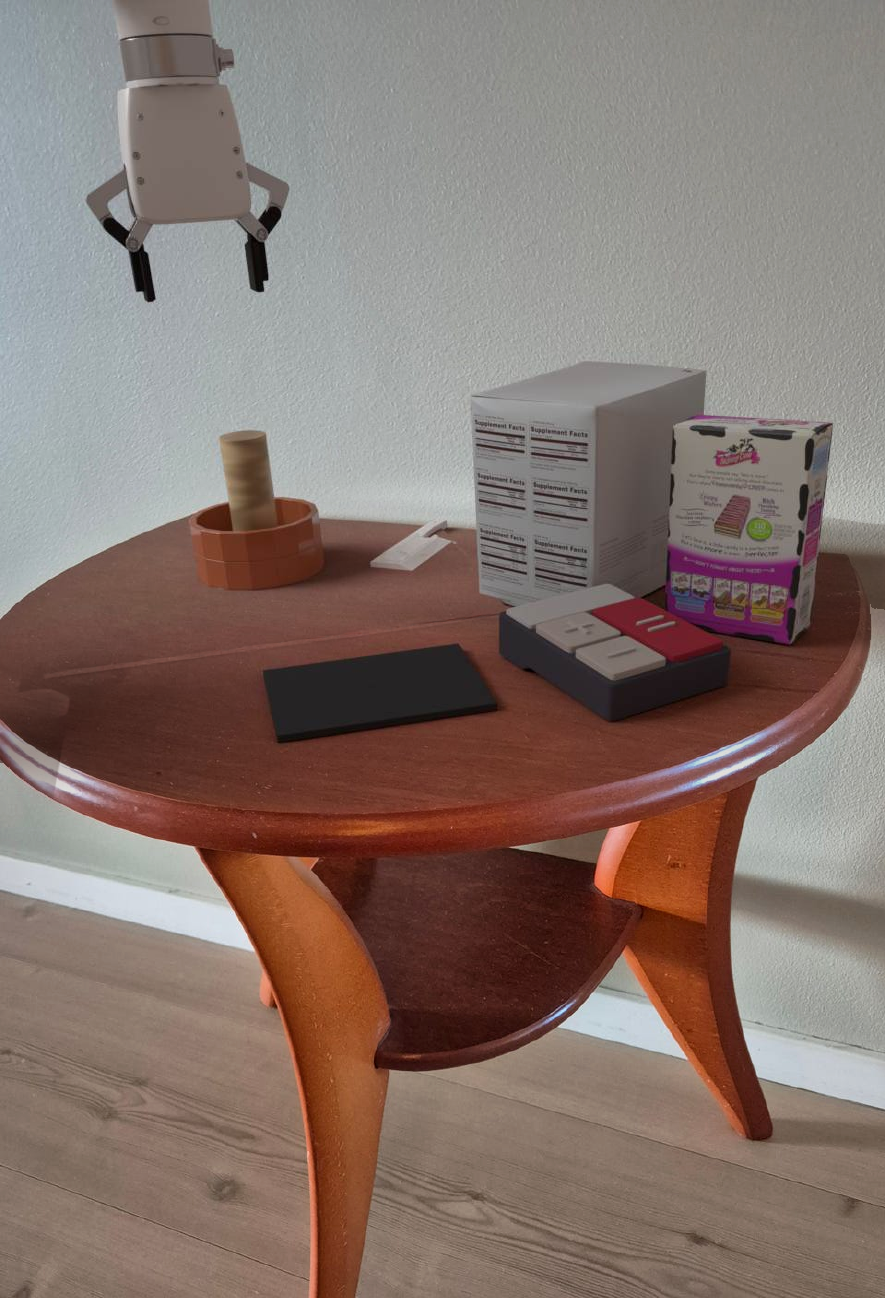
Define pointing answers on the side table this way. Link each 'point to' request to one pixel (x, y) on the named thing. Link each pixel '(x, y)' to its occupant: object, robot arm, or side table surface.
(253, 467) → the pestle
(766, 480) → the candy bar box
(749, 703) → the side table surface
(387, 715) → the mat
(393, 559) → the butcher knife
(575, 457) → the supplement box
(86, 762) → the side table surface
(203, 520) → the crock
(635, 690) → the calculator
